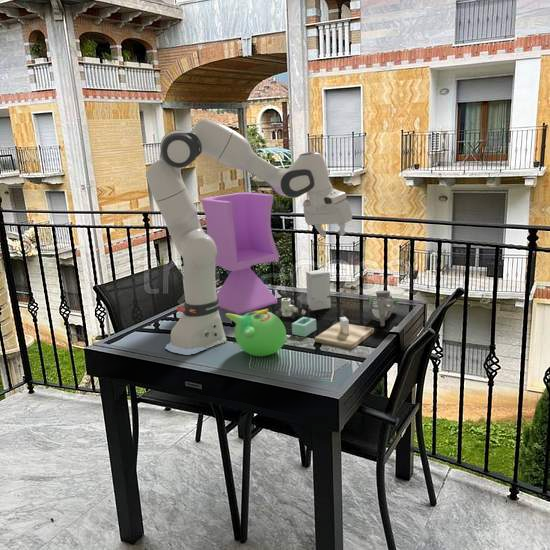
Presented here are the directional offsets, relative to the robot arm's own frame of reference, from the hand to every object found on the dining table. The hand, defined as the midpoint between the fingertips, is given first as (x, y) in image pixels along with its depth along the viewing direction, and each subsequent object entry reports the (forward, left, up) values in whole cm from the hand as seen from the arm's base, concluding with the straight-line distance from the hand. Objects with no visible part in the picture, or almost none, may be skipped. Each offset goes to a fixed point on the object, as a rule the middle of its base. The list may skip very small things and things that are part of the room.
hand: (332, 235), depth 189 cm
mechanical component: (+3, -17, -32) cm, 37 cm away
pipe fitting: (+12, -14, -33) cm, 37 cm away
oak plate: (-12, -10, -32) cm, 36 cm away
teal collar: (-14, +5, -32) cm, 36 cm away
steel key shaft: (-12, -10, -31) cm, 35 cm away
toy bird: (-36, +8, -33) cm, 49 cm away
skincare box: (+11, +14, -33) cm, 37 cm away
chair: (+2, +45, -32) cm, 56 cm away
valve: (-3, +17, -33) cm, 37 cm away
